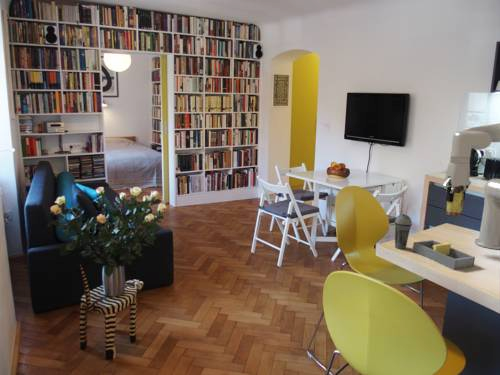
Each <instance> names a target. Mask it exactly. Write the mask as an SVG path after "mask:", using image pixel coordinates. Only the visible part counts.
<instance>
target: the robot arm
mask: <svg viewBox="0 0 500 375" xmlns="http://www.w3.org/2000/svg"><path fill="white" fill-rule="evenodd" d="M492 143H500V123H493V124H487V125H480V126H475V127H474V126H473V127H471V128H467V129H464V130H462V131H456V132H454V133H453V135H452V142H451V144H452V145H451V150H450V151H451V152H450V162H449V163H448V165H447V168H446V171H445V177H444V182H443V184H442V186H443V188H444V189H445V192H446V196H445V201H446V202H447V201H449V202H453V197H454V193H453V191H454V189H455V187H458V186H461V185H463V187H464V195H463V202H464V201H465V199H466V192H467V189H469V186H470V185H471V184H472V181H471V180H470V176H471V175H470V174H471V167H470V166H471V164H470V162H471V161H470V159H471V152H472V149H476V150H484V149H487V148H488V147H489V146H491V144H492ZM451 185H452V186H451ZM450 187H452V188H451V189H450ZM483 193H484V194H483V195H484V196H483V197H484V204H483V209H482V210H483V211H482V216H481V222H480V228H479V229H480V230H479V236H478V238H476V239H475V240H474V244H475V245H477V246H480V247H482V248H487V249H492V250H500V178H491V179H490V180H488V181H486V183H485V184H484V187H483Z"/></svg>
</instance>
